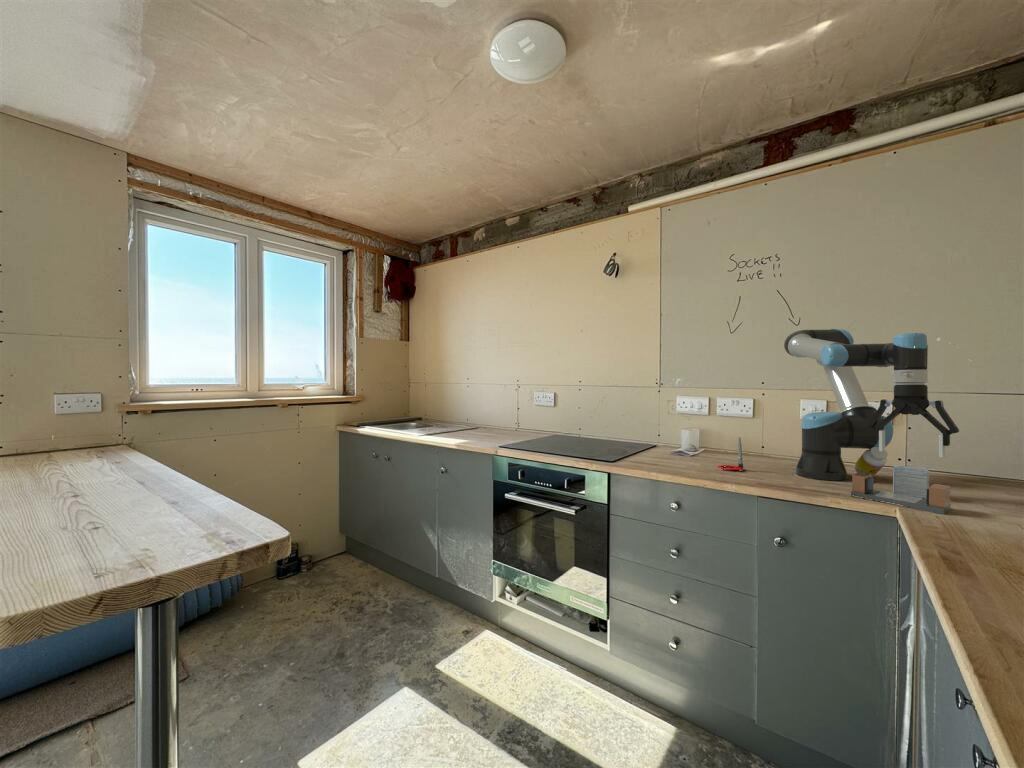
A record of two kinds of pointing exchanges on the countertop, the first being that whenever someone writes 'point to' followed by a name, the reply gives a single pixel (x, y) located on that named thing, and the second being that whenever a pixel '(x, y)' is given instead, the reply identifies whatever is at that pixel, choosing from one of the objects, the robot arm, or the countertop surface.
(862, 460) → the supplement bottle
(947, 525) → the countertop surface
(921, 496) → the medicine box
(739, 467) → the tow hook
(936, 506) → the rail
